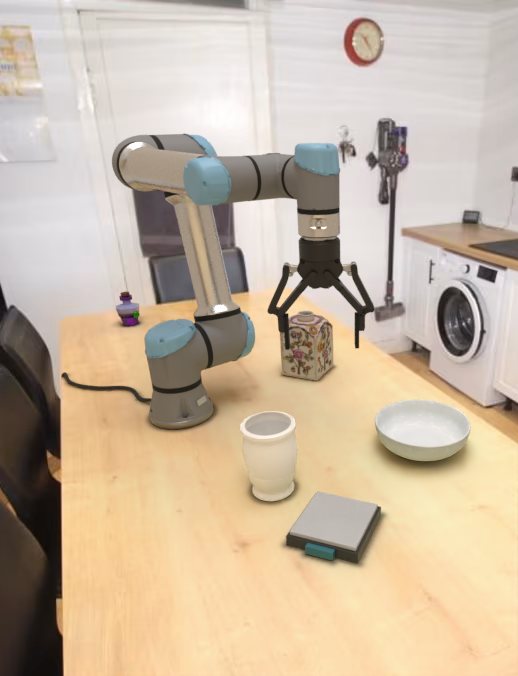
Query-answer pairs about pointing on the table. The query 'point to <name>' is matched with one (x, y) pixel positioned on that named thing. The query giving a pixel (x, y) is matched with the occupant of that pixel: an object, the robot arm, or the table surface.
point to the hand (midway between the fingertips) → (322, 346)
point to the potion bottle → (128, 310)
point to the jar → (270, 453)
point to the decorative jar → (307, 346)
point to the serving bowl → (422, 429)
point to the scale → (334, 527)
